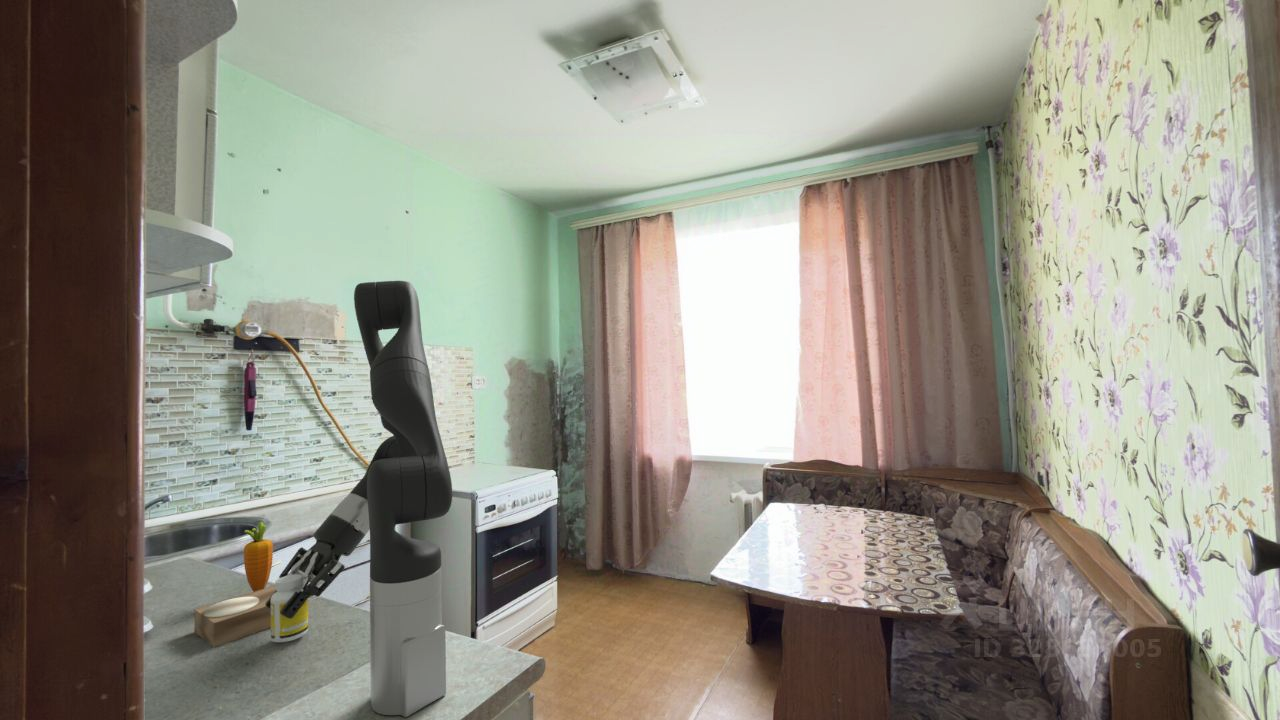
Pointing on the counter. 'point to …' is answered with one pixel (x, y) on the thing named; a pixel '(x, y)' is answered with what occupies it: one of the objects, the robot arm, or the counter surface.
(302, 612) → the supplement bottle
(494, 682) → the counter surface
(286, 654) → the counter surface
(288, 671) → the counter surface
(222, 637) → the walnut board
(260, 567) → the carrot
